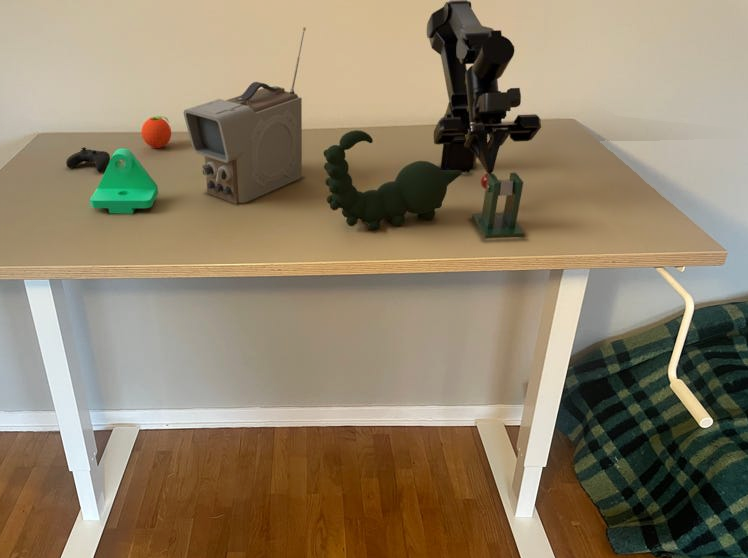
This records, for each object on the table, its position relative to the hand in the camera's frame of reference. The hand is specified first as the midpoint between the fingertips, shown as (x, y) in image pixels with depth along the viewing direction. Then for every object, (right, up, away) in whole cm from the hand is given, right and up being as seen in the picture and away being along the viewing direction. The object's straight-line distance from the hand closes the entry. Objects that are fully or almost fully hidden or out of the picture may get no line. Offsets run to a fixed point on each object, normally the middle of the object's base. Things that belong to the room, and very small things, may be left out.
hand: (490, 172), depth 136 cm
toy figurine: (-18, -9, +1) cm, 21 cm away
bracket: (+1, -11, -2) cm, 11 cm away
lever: (0, -4, -2) cm, 5 cm away
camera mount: (-70, -4, +11) cm, 71 cm away
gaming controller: (-81, +9, +29) cm, 86 cm away
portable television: (-45, +1, +17) cm, 48 cm away
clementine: (-67, +16, +39) cm, 79 cm away
